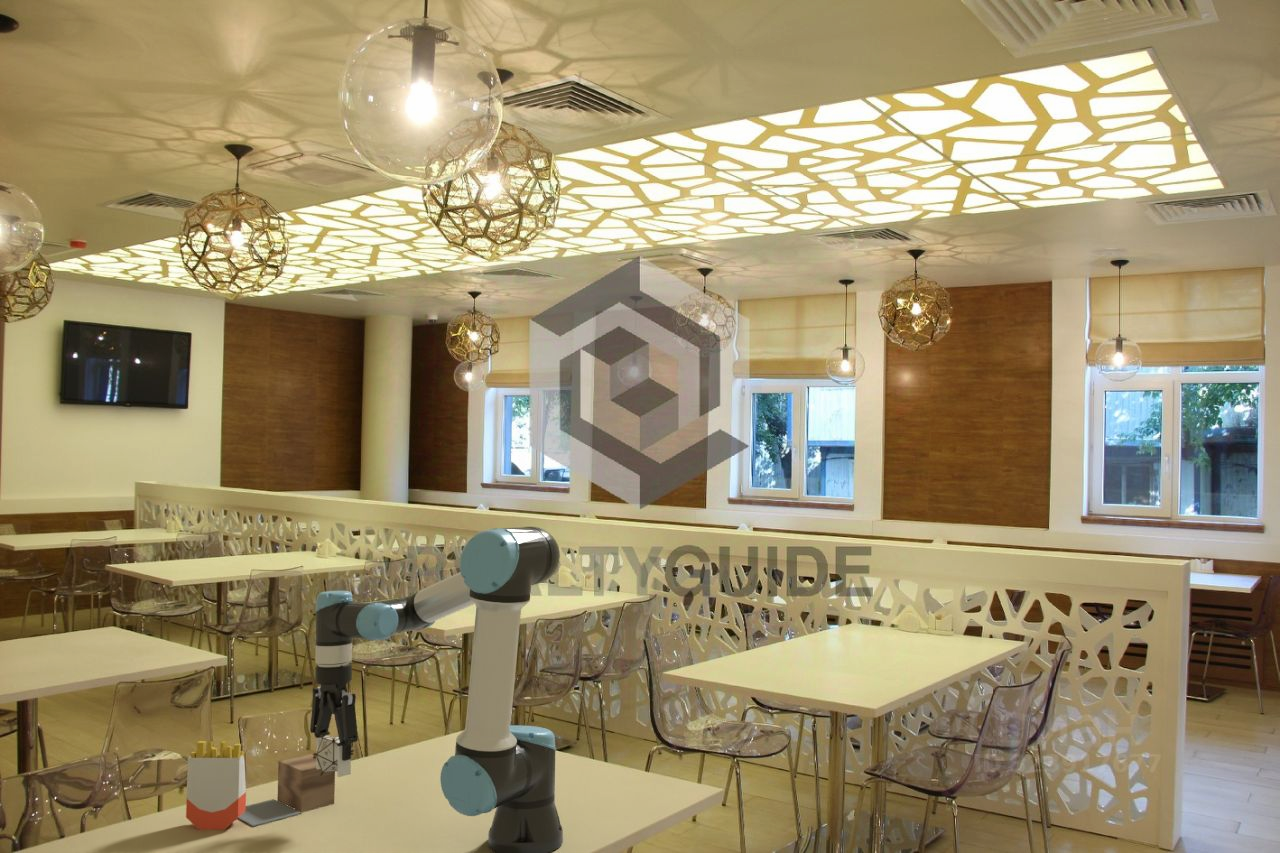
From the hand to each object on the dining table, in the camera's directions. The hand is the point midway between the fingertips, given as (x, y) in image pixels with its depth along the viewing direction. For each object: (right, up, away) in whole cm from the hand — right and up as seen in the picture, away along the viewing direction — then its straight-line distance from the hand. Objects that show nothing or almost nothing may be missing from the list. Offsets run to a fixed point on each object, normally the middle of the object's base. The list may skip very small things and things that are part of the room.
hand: (333, 771), depth 208 cm
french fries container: (-25, -11, -1) cm, 27 cm away
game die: (0, -1, 0) cm, 1 cm away
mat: (-17, -12, +6) cm, 22 cm away
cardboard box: (-11, -12, +14) cm, 21 cm away
